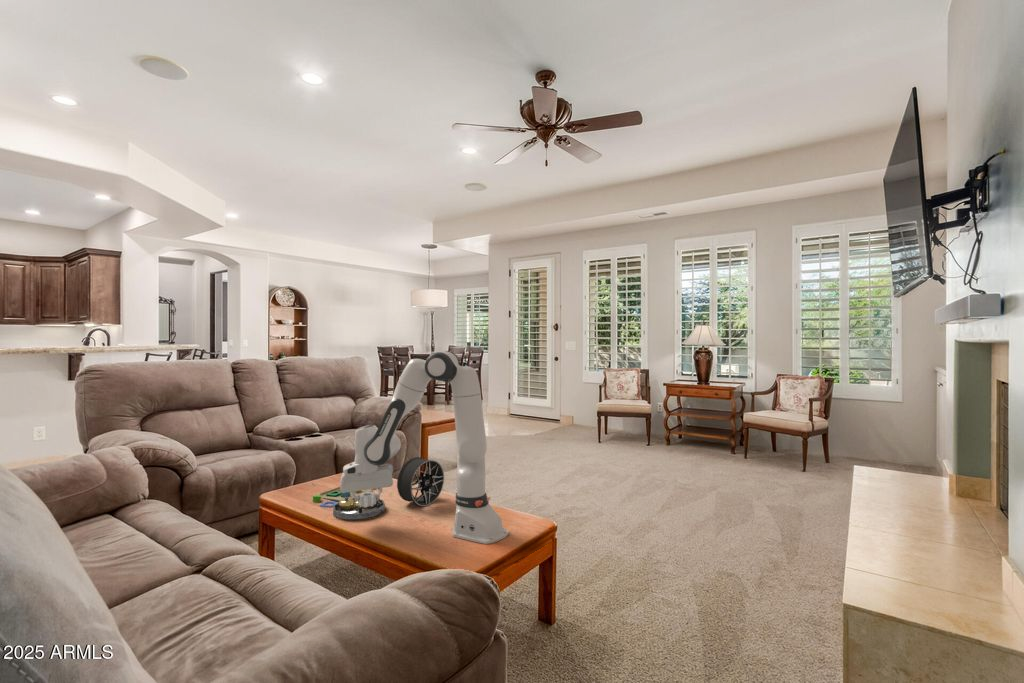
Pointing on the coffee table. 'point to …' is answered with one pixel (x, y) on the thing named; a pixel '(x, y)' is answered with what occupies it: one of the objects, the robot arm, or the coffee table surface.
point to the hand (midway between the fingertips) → (367, 500)
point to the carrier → (357, 510)
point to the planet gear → (367, 499)
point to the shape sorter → (336, 496)
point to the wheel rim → (421, 481)
